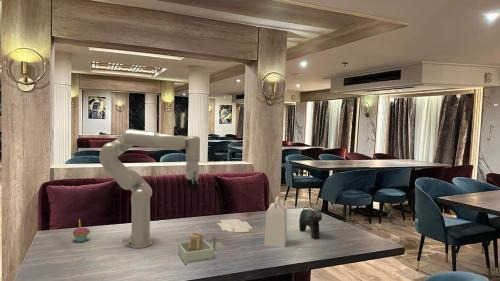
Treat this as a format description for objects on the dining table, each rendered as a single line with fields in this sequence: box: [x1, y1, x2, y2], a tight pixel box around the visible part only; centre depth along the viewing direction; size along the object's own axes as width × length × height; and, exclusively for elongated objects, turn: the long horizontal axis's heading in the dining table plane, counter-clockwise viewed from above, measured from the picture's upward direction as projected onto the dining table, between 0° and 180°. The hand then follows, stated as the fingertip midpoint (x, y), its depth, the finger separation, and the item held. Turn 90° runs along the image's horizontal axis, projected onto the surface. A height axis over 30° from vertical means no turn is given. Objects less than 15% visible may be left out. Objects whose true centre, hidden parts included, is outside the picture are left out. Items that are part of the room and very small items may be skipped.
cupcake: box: [72, 219, 91, 243], centre depth 186 cm, size 9×8×12 cm
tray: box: [216, 218, 253, 233], centre depth 221 cm, size 20×28×4 cm
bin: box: [177, 239, 214, 266], centre depth 167 cm, size 14×14×6 cm
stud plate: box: [207, 236, 227, 250], centre depth 180 cm, size 10×10×6 cm
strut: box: [188, 232, 204, 252], centre depth 167 cm, size 5×5×11 cm
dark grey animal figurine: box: [298, 203, 323, 240], centre depth 207 cm, size 20×6×20 cm, turn 22°
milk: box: [263, 196, 288, 248], centre depth 192 cm, size 12×12×26 cm
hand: (192, 189), depth 186 cm, fingers open, 9 cm apart
